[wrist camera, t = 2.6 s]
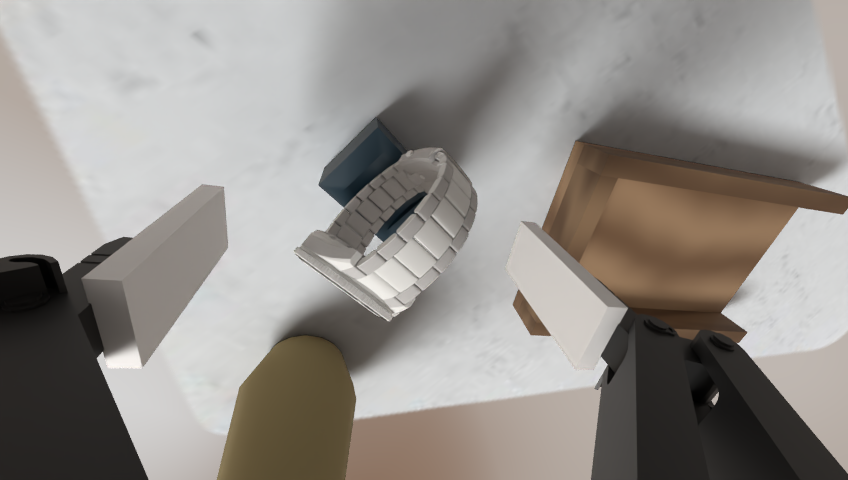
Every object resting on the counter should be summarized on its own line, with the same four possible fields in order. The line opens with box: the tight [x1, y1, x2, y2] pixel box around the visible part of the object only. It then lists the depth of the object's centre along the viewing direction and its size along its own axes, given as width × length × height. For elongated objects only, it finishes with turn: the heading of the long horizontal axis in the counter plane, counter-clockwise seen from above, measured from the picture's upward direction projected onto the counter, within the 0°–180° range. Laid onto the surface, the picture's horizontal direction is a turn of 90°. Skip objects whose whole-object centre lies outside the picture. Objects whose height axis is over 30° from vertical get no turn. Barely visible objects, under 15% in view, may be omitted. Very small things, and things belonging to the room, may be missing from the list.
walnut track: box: [513, 141, 848, 343], centre depth 26 cm, size 13×20×4 cm
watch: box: [294, 117, 477, 321], centre depth 16 cm, size 6×8×11 cm
